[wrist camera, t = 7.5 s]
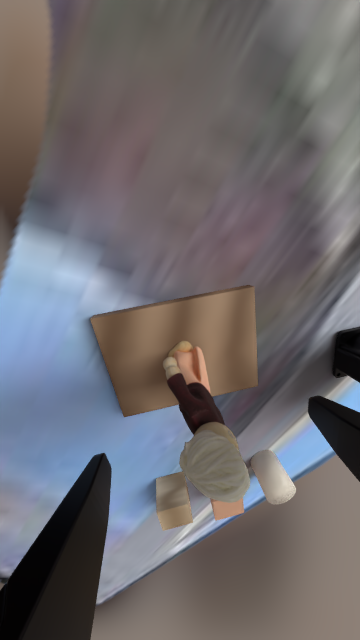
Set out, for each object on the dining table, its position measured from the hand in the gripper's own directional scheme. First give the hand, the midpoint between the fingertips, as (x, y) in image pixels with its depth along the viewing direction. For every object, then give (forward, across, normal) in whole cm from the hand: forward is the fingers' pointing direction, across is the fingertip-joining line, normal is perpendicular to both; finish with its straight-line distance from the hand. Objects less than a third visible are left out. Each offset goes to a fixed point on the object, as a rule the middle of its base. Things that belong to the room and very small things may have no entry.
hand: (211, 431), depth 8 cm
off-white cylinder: (+13, -9, +24) cm, 29 cm away
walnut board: (+13, 0, +3) cm, 14 cm away
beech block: (+13, +5, +24) cm, 28 cm away
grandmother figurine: (+12, 0, +3) cm, 13 cm away
